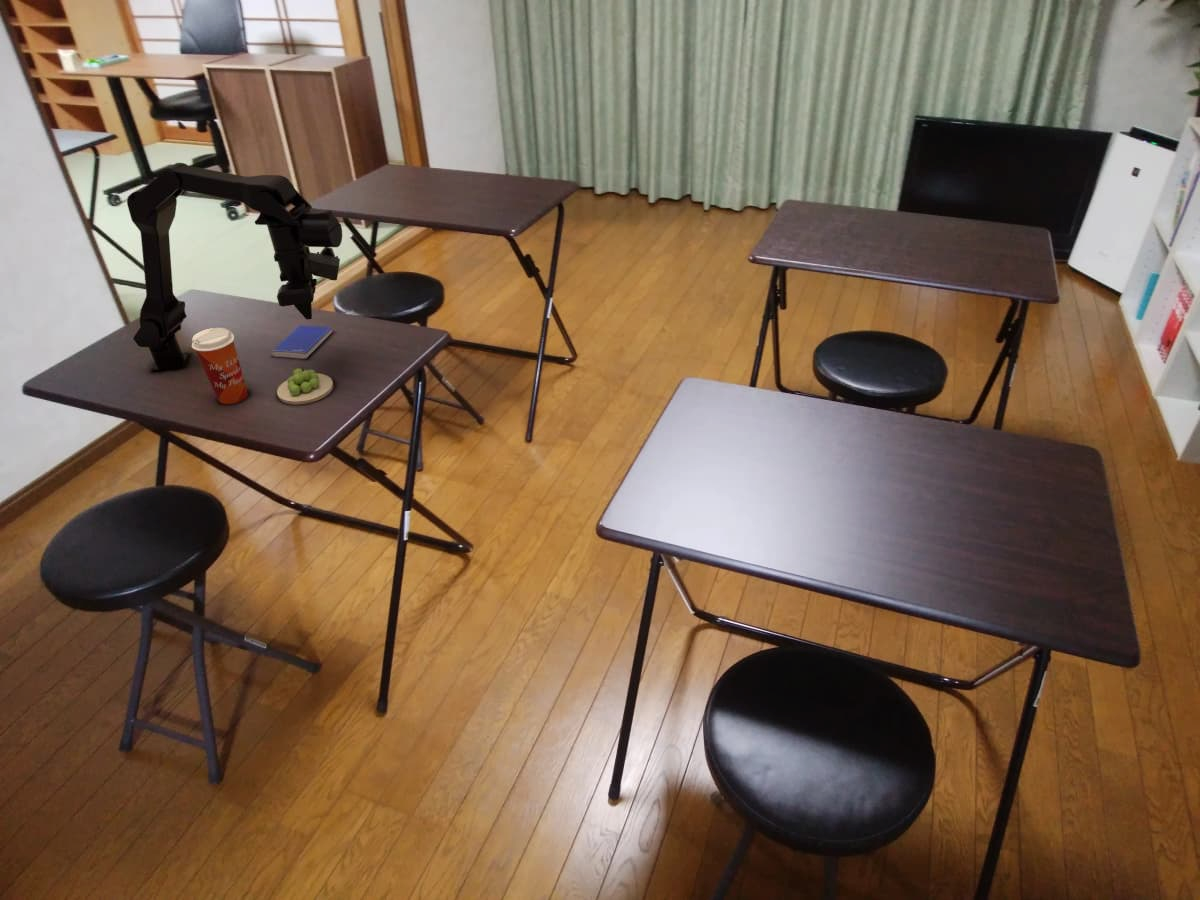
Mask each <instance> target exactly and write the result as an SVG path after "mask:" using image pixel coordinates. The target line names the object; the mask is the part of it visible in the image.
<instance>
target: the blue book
mask: <svg viewBox="0 0 1200 900" xmlns="http://www.w3.org/2000/svg"><path fill="white" fill-rule="evenodd" d="M332 333H333V329H332V327H330V326H319V325H318V326H317V325H316V326H315V325H304V324H300V325H298V326H297V327H296V328H295V329H294V330H293V331H291V333H289V334H288V335H287V336H286V337H285V338H284V339H282V341H281V342H280V343H278V344H277V345H276V346H275V347H274V348H273V349H272V350H271V355H272V356H273V357H278V358H291V359H303V360H305V359H307V358H308V357H310V355H311V354H312V353H314V351H315V350H316V349H317V348H318V347H320V345H321V344H322V343H323V342H324V341H325V340H326V339H327V338H328V337H329V336H330V335H331V334H332Z"/></svg>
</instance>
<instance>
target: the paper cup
mask: <svg viewBox="0 0 1200 900" xmlns="http://www.w3.org/2000/svg"><path fill="white" fill-rule="evenodd" d="M234 340H235V336H234V334H233V333H232V332H231V330H228V329H227V328H224V327H211V328H207V329H203V330H200V331H199V332H197V333H195V334H194V335H193V336H192V339H191V348H192V349H193V350H195V353H196V355H197V357H198V359H199V361H200V364H201V367H202V368H203V371H204V373H205V375H206V377H207V379H208V381H209V383H210V386H211V388H212V390H213V391H214V394H215V396H216V398H217V400H218V402H219V403H221V404H224V405H233V404H236V403H239V402H241V401H244V399H246V398H247V397H248V390H247V386H246V381H245V377H244V374H243V369H242V367H241V364H240V360H239V356H238V353H237V350H236V349H237V348H236V345H235V342H234Z"/></svg>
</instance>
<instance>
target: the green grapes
mask: <svg viewBox="0 0 1200 900" xmlns="http://www.w3.org/2000/svg"><path fill="white" fill-rule="evenodd" d="M316 373H317V372H316V370H314V369H304V366H303V365H302V366H300V368H295V369H294V370H293V371H292V376H291V375H290V376H289V377H288V378H287V380H288V381H287V382H288V389H289V392H290V393H291V394H292V395H298V394H299V393H300V391H301V390H302V391H303V392H309V391H310V390H311V388H317V387H318V386H319V381H318V380H319V377H318V375H317V374H316ZM299 386H300V387H299Z"/></svg>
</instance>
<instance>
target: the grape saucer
mask: <svg viewBox="0 0 1200 900" xmlns="http://www.w3.org/2000/svg"><path fill="white" fill-rule="evenodd" d="M316 374H317V375H318V377H319V380H318V381H319V386H318V387H317V388H311V390H310V391H309V392H303V391H302V390H301V391H300V393H299V394H298V395H292V394H291V393H290V392H289V389H288V382H287V381H288V379H287V380H285V381H283V382H282V383H281V384H280V385H279V386H278V387H277V390H276V395H277V398H278V399H279V401H281V402H282V403H284V404H288V405H297V406H298V405H306V404H310V403H314V402H317V401H319V400H322V399H324V398H326V397H327V396H328V395H329V394H330V393H331V392H332V391H333V389H334V382H333V379H332V378H331V377H330V376H329V375H326V374H324V373H317V372H316ZM299 387H300V386H299Z"/></svg>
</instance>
